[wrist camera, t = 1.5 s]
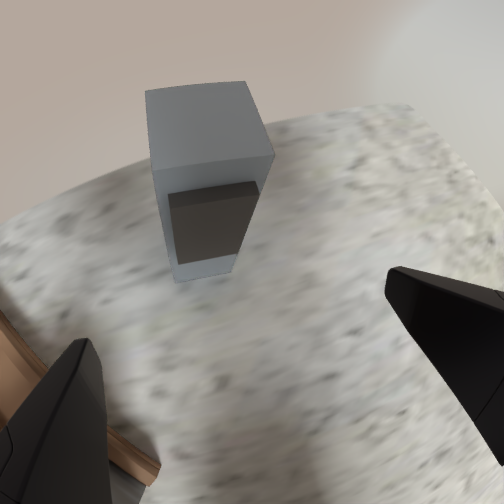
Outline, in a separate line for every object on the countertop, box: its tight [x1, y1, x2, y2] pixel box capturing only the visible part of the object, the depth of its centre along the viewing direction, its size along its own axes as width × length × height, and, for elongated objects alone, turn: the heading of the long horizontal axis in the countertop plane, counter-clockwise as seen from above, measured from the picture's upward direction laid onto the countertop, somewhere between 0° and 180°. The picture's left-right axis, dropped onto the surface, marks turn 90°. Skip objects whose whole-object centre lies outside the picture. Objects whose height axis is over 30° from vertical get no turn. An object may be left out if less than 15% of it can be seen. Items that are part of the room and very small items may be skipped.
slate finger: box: [145, 81, 275, 283], centre depth 16 cm, size 5×4×13 cm
